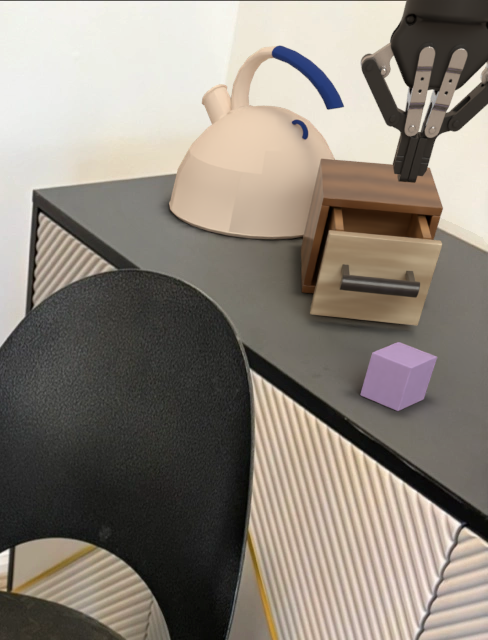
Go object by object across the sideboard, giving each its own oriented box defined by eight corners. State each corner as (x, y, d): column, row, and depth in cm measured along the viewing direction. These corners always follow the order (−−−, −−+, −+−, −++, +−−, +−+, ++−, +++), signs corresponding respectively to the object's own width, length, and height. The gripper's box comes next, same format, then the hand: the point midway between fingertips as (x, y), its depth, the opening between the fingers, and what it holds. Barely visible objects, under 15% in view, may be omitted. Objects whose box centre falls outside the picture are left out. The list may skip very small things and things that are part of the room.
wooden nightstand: (414, 304, 116) (443, 207, 110) (301, 292, 118) (323, 197, 112) (404, 257, 127) (430, 167, 121) (300, 247, 129) (320, 158, 123)
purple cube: (385, 384, 102) (398, 341, 99) (423, 399, 99) (437, 356, 97) (359, 395, 100) (371, 352, 97) (397, 411, 97) (411, 367, 95)
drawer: (421, 345, 106) (447, 262, 101) (310, 333, 108) (330, 250, 103) (407, 278, 120) (429, 201, 115) (308, 268, 121) (326, 192, 116)
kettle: (248, 179, 149) (277, 23, 137) (369, 223, 136) (413, 54, 124) (133, 202, 140) (153, 37, 129) (250, 251, 128) (285, 73, 116)
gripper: (385, -52, 87) (331, 185, 98) (565, -43, 84) (488, 199, 96) (380, -64, 92) (329, 162, 104) (549, -55, 90) (478, 174, 101)
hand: (406, 179), depth 100 cm, fingers closed
